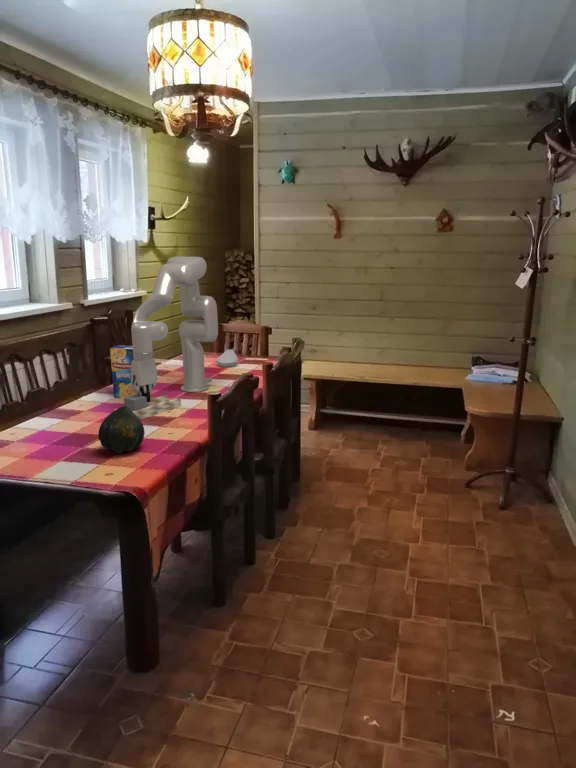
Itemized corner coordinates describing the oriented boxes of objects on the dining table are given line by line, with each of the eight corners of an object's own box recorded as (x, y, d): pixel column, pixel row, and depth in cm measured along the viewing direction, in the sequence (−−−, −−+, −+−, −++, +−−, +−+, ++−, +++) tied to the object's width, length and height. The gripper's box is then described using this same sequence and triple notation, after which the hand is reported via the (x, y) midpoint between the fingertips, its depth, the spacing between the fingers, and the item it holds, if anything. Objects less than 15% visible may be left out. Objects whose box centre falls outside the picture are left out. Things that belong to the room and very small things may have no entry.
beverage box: (136, 399, 260) (133, 349, 254) (113, 397, 263) (109, 348, 257) (144, 395, 266) (140, 346, 261) (121, 393, 269) (118, 345, 264)
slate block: (137, 409, 240) (136, 394, 238) (147, 411, 236) (146, 397, 235) (125, 412, 235) (124, 398, 234) (135, 415, 231) (134, 400, 230)
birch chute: (165, 403, 253) (165, 395, 252) (181, 406, 248) (180, 398, 247) (114, 418, 233) (113, 409, 232) (129, 422, 228) (129, 413, 227)
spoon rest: (236, 368, 318) (236, 355, 316) (214, 368, 318) (214, 355, 317) (241, 359, 341) (241, 347, 339) (221, 359, 341) (220, 347, 340)
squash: (92, 444, 188) (122, 405, 190) (87, 432, 202) (115, 396, 203) (129, 468, 194) (158, 430, 196) (122, 454, 208) (149, 419, 209)
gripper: (151, 352, 242) (154, 396, 247) (121, 358, 231) (124, 404, 235) (164, 354, 238) (167, 399, 242) (134, 360, 226) (137, 407, 231)
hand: (146, 401), depth 239 cm, fingers closed
